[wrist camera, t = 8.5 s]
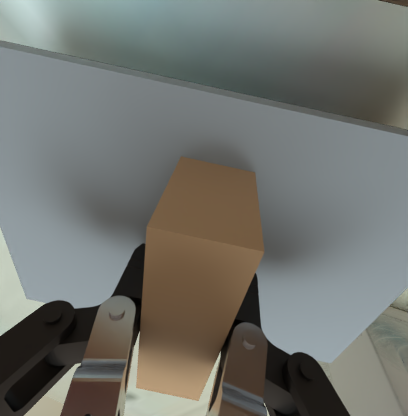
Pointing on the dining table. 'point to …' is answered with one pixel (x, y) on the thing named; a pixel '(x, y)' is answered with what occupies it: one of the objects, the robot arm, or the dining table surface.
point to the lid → (198, 208)
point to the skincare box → (375, 368)
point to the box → (397, 2)
